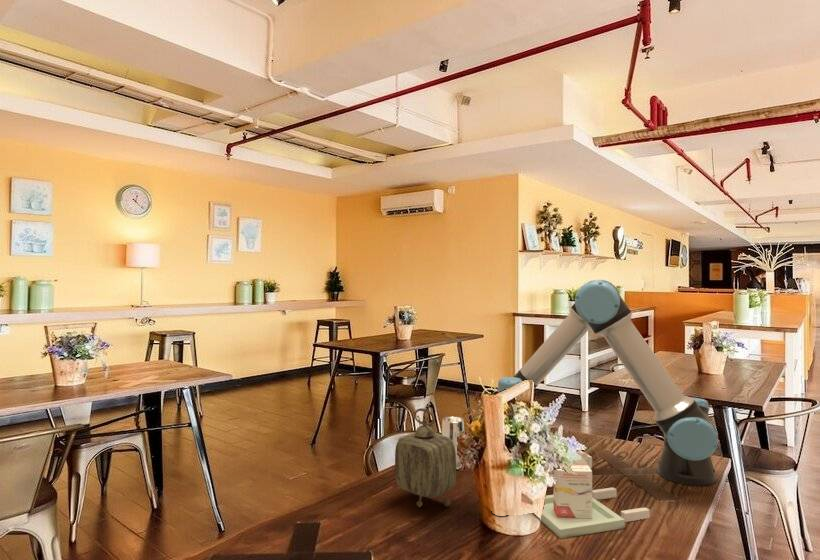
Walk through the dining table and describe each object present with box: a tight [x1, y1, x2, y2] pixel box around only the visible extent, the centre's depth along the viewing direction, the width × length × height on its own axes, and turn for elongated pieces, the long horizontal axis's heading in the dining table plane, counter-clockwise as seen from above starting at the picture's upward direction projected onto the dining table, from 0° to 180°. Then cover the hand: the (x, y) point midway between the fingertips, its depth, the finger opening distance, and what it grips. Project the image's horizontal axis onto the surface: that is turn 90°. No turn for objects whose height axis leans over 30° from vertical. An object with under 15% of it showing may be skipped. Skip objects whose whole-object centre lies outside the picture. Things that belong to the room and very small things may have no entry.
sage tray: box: [541, 494, 626, 539], centre depth 128 cm, size 17×17×2 cm
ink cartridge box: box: [553, 451, 593, 519], centre depth 128 cm, size 9×5×15 cm, turn 84°
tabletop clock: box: [394, 407, 457, 508], centre depth 136 cm, size 14×9×25 cm, turn 48°
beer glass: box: [441, 416, 465, 469], centre depth 161 cm, size 7×7×15 cm
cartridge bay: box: [592, 486, 651, 523], centre depth 133 cm, size 7×14×2 cm, turn 15°
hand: (567, 465), depth 130 cm, fingers open, 13 cm apart
